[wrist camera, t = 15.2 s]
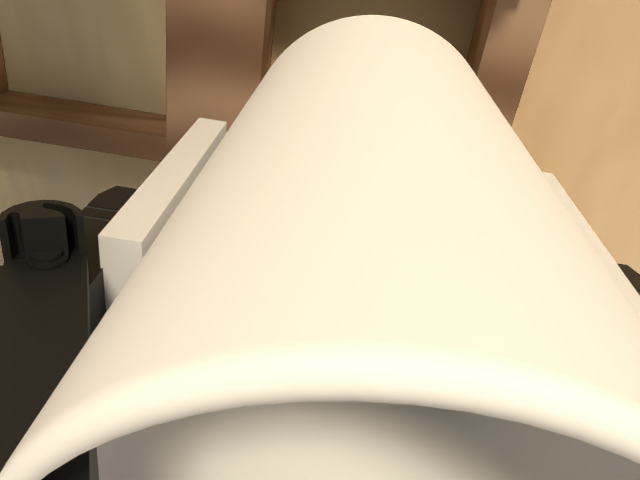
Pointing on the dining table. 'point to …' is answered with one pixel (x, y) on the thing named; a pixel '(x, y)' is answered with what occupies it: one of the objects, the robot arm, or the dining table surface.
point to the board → (243, 76)
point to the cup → (359, 297)
